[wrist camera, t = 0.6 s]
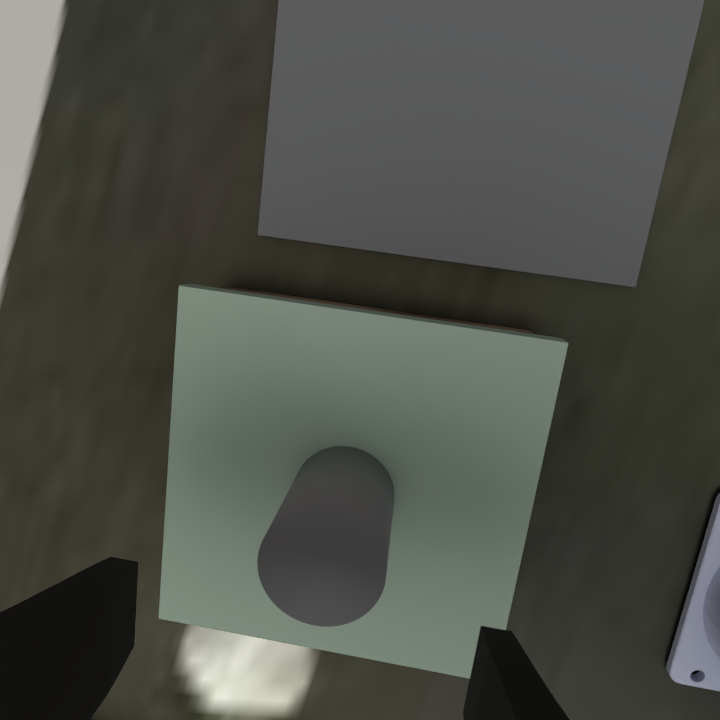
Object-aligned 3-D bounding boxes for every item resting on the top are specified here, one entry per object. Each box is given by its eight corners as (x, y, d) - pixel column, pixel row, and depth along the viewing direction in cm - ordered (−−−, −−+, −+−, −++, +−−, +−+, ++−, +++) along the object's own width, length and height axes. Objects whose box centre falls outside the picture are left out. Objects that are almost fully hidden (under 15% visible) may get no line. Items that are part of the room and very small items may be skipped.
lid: (555, 333, 18) (618, 377, 12) (488, 649, 20) (514, 806, 15) (199, 281, 19) (102, 300, 13) (177, 590, 21) (89, 718, 16)
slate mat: (737, -160, 16) (745, -169, 16) (631, 286, 19) (635, 287, 19) (299, -194, 17) (296, -204, 17) (260, 235, 20) (257, 234, 20)
